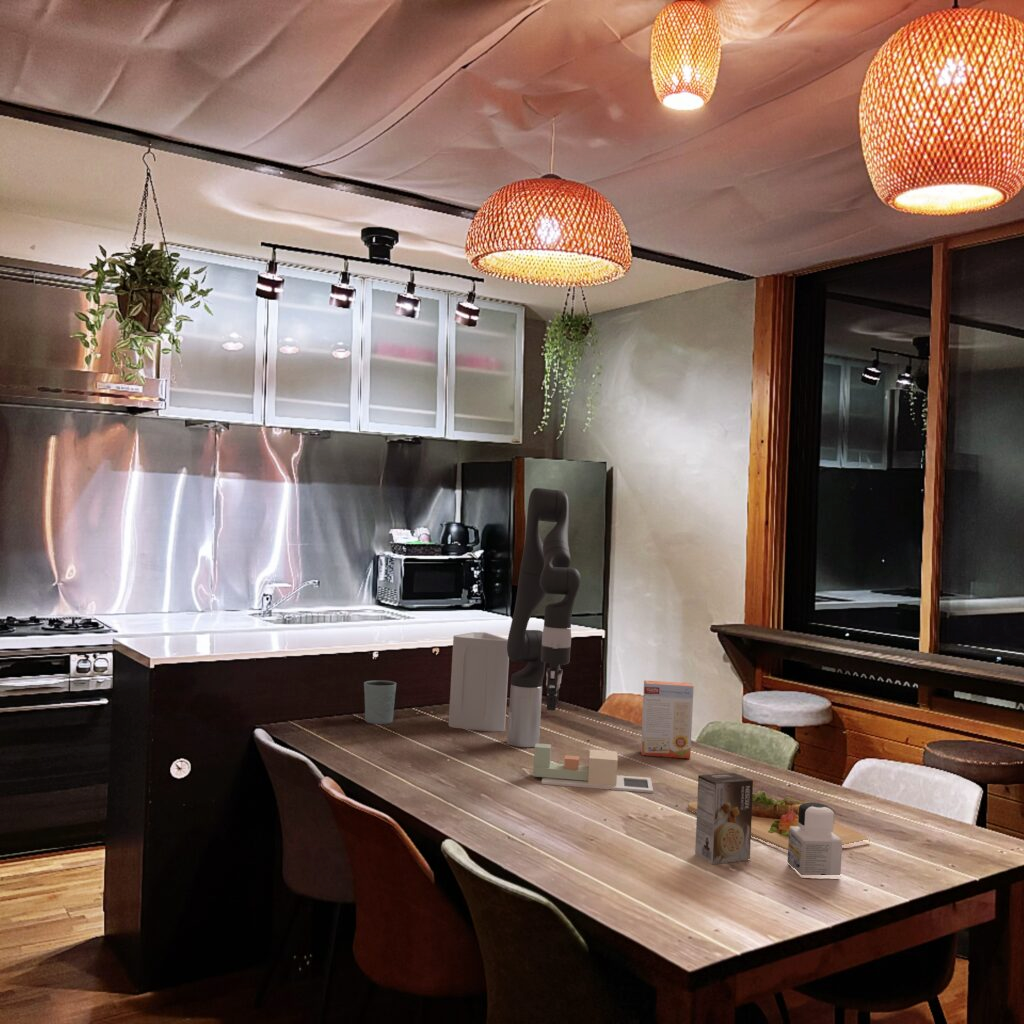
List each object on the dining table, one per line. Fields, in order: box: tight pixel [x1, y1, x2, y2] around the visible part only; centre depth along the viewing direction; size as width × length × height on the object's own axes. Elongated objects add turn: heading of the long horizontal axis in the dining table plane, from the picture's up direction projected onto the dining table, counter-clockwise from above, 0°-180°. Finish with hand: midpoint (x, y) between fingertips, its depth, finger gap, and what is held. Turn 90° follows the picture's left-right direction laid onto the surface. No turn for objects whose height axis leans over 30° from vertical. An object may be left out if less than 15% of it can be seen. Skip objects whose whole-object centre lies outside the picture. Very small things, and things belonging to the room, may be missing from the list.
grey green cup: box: [363, 679, 397, 725], centre depth 301 cm, size 10×10×12 cm
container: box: [786, 802, 843, 875], centre depth 187 cm, size 8×8×13 cm
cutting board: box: [687, 790, 869, 850], centre depth 216 cm, size 35×23×8 cm
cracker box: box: [640, 680, 694, 760], centre depth 276 cm, size 14×6×21 cm, turn 84°
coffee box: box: [694, 772, 754, 865], centre depth 192 cm, size 9×6×16 cm
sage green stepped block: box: [532, 743, 589, 781], centre depth 244 cm, size 14×6×7 cm, turn 85°
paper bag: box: [448, 631, 510, 733], centre depth 302 cm, size 19×15×28 cm
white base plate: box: [541, 749, 654, 794], centre depth 243 cm, size 28×12×7 cm, turn 84°
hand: (552, 706), depth 248 cm, fingers open, 8 cm apart
